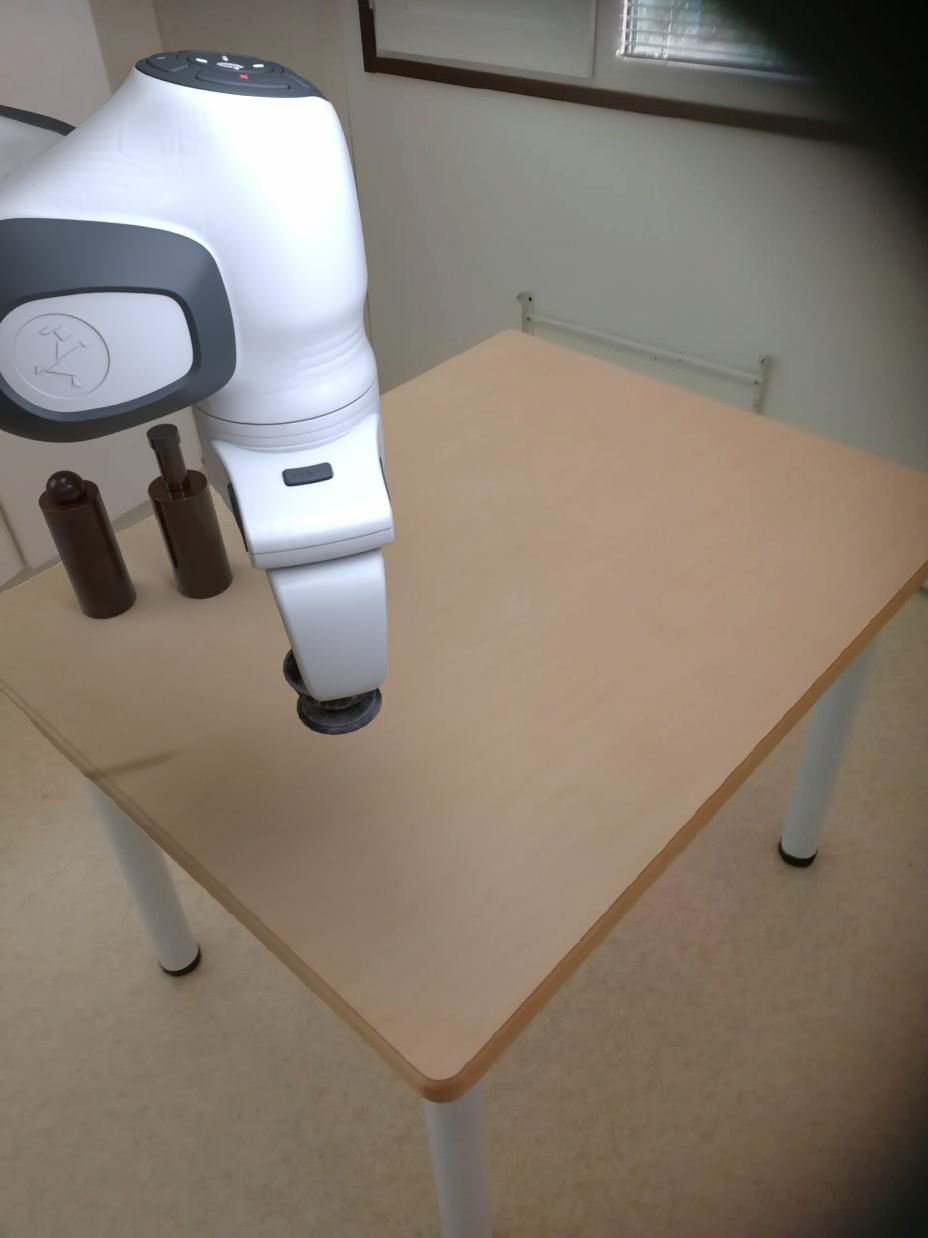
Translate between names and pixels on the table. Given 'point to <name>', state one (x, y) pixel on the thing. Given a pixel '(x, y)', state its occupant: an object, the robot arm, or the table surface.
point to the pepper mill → (87, 545)
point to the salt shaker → (331, 705)
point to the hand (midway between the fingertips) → (328, 642)
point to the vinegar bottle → (187, 519)
